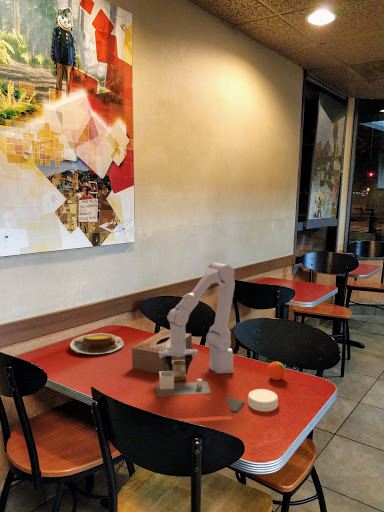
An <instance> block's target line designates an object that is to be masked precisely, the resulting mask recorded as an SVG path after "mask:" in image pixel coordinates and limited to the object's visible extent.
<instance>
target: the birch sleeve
mask: <svg viewBox="0 0 384 512" xmlns="http://www.w3.org/2000/svg"><path fill="white" fill-rule="evenodd" d="M172 371H173V374H174V382H175V381H186V380H187V375H186V364H185V360H172Z"/></svg>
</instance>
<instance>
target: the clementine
mask: <svg viewBox="0 0 384 512" xmlns="http://www.w3.org/2000/svg"><path fill="white" fill-rule="evenodd" d="M266 370H267V374H268V376H269V378H271V379H272V380H274V381H279V380H282V379H283V378H284V377H285V375H286V372H287V369H286V367H285V365H284V364H283V363H281V362H280V361H276V360H274V361H273V362H271V363H269V364H268V366H267V369H266Z"/></svg>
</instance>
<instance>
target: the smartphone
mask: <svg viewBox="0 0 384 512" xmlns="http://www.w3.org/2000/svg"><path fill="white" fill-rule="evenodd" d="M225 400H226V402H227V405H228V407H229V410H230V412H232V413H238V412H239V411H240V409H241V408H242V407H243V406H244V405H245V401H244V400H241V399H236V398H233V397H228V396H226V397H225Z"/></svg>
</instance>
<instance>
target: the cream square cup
mask: <svg viewBox="0 0 384 512" xmlns="http://www.w3.org/2000/svg"><path fill="white" fill-rule="evenodd" d="M174 384H175V381H174V374H173V371H170V370H168V371H159V385H160V393H173V392H174Z"/></svg>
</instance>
